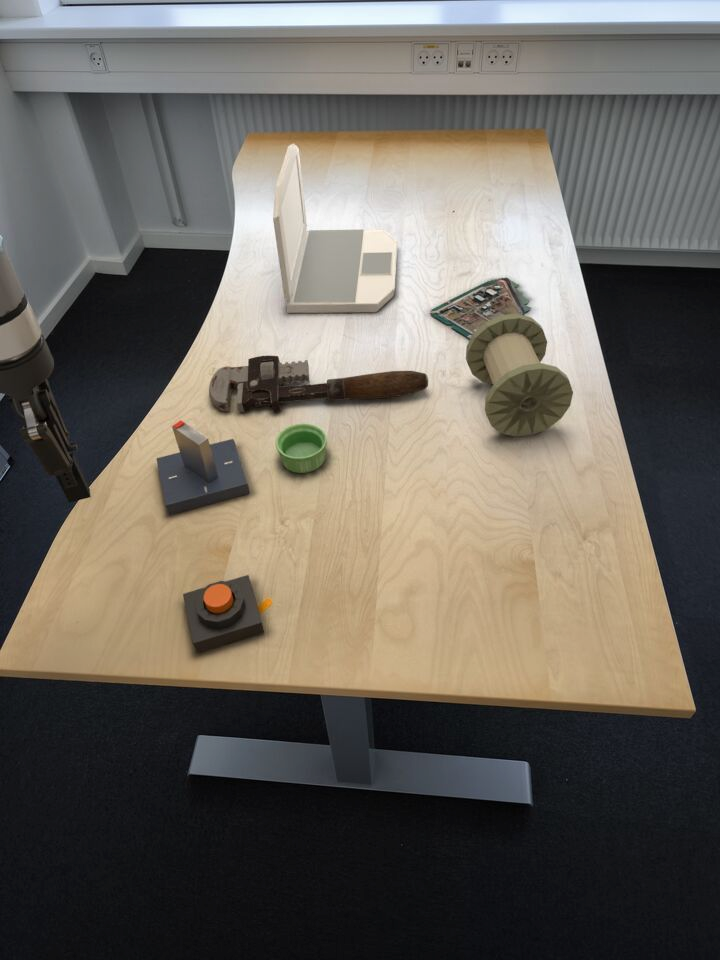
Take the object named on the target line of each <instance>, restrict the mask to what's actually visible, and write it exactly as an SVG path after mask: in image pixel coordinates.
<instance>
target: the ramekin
mask: <svg viewBox="0 0 720 960" xmlns="http://www.w3.org/2000/svg"><path fill="white" fill-rule="evenodd" d="M327 442H328V438H327V435H326V433H325V431H324V430H323V429H322V428H320V427H319V426H317V425H315V424H311V423H295V424H291V425H289V426H287V427H285V428H284V429H283V430H281V431H280V432H279V433H278V435H277V437H276V439H275V448H276V450H277V452H278V456H279V458H280V461H281V463H282V465H283V466H284V468H286V469H287V470H288V471H290V472H293V473H297V474H304V473H305V474H306V473H310V472H313V471H316V470H317V469H320V467H321V466H322V465H323V464H324V462H325V461H326V456H327V448H326V447H327Z"/></svg>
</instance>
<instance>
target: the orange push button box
mask: <svg viewBox="0 0 720 960" xmlns="http://www.w3.org/2000/svg"><path fill="white" fill-rule="evenodd" d="M249 575H250V574H246V575H243V576H240V577H236V578H232V579H230V580H226V581H225V580H219V581H216V582H212V583H209V584H208V585H206V586H205V587H202V588H199V589H196V590H192V591H188V592H184V593H182V597H183V602H184V607H185V613H186V616H187V621H188V626H189V632H190V637H191V642H192V645H193V647H194V650H195V653H196V654H199V653H203V652H206V651H209V650H212V649H215V648H218V647H222V646H225V645H228V644H232V643H235V642H238V641H242V640H244V639H248V638H251V637H254V636H257V635H262V634H264V633H265V629H264V625H263V622H262V618H261V614H260V611H259V608H258V604H257V600H256V596H255V594H254V590H253V586H252V583H251V579H250V576H249ZM216 584H224V585H226V586H228V587H229V588H230V590H231V593H232V596H233V604H232V606H231V607H230V609H229V610H227V611H226V612H223V613H220V614H215V613H212V612H210V611H209V610H208V609H207V608H206V605H205V602H204V593H205V591H206V590H207V589H208V588H209V587H211V586H213V585H216Z"/></svg>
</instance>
